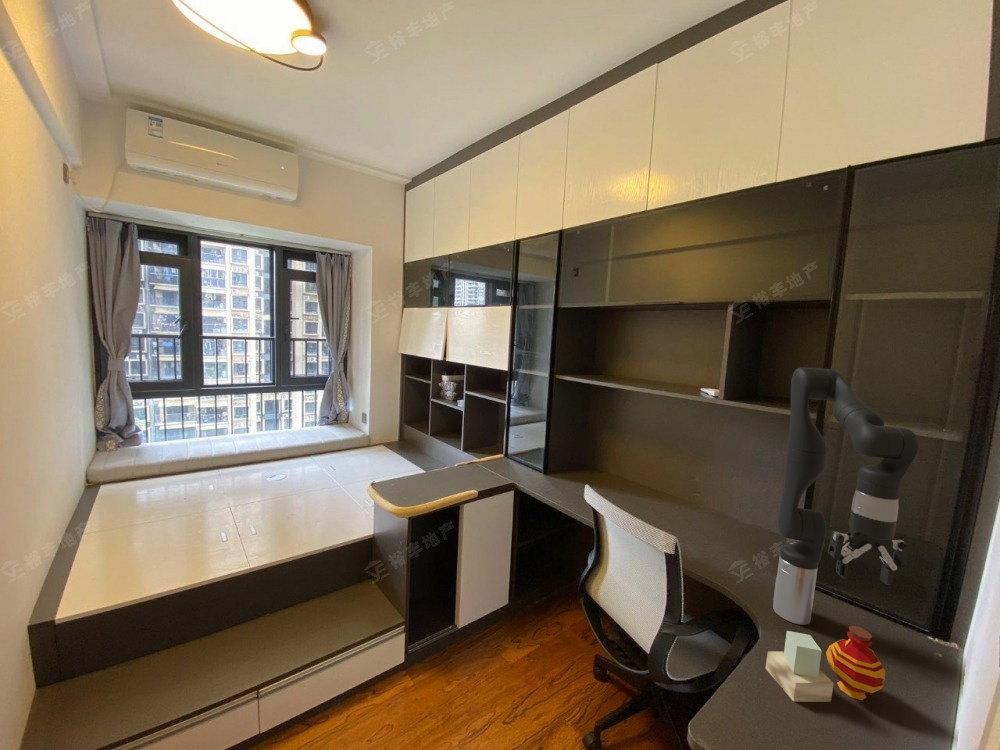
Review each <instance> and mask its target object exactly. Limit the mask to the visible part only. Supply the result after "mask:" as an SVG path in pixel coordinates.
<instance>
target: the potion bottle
mask: <svg viewBox="0 0 1000 750" xmlns="http://www.w3.org/2000/svg"><path fill="white" fill-rule="evenodd" d="M848 629H849V631H847V632H846V634H847V635H846V636H847V637H848V639H844V638H842V639H839V640H837V641H835V642H834V643H832V644H830V645H829V646H828V648H827V650H826V659H827V662H828V664H829V667H830V669H831V670H833V672H834V673H835V675H836V677H837V678H838V680H839V681H838V682H837V683H836V684H837V686H838V687H839V689H840V691H842V692H843V693H845V695H847V696H848V697H850V698H853V699H856V700H861V701H863V700H865V699H866V698H867V696H866V694H868V693H870V694H874V693H876V692H879V691H880V690H882V689H883V687H884V686H885V683H884V682H885V681H886V670H885V668H884V666H883V665H882V663H881V661H880V659H879V658H878V656H877V655H876V654H875V652H874V651H873V649H871V648H869V647H871V646H872V645H873V642H872V640H871V639H872V638H873V635H872V634H871V632H869V631H868V630H866V629H864V628H862V627H860V626H857V625H856V626H855V625H850V626H848Z"/></svg>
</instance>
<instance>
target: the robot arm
mask: <svg viewBox="0 0 1000 750" xmlns="http://www.w3.org/2000/svg"><path fill="white" fill-rule="evenodd" d="M810 400H818V401H831V402H833V406H832V414H833V417H834V419H835V420H836V421H837V422H838V424H840V425H841V426H842V427H843V428H844V429H845V430H846V431H847V432H848V434H849V437H850V440H851V443H852V445H853V448H854V449H855V450H856V452H859V453H860V454H862V455H864V456H867V457H872V458H882V460H881V461H880V462H878V463H875V464H868V465H862V466H861V467H859V470H858V473H857V481H856V488H855V491H854V494H853V497H852V501H851V502H852V504H851V509H850V517H849V521H848V526H849V531H848V532H847V533H841V532H838V531H837V530H832V531H831V534H830V539H829V540H830V541H829V544H828V549H827V553H828V554H829V556H831V557H832V558H833V559H834V560H836V565H835V571H836V573H837V575H839V577H841V578H842V579H845V580H846V579H848V573H849V566H850V564H849V563H850V561H852V560H854V559H857V558H859V557H860V556H862V557H871V558H876V559H880V560H881V562H882V563H883V564H881V570H880V575H879V579H880V580H879V581H881V582H882V583H883V584H884V585H887V586H890V585H891V584H892V583H893V582H894V580H895V579H894V578H895V573H896V571H897V570H898V569H902V570H907V568H908V562H909V554H910V553H909V551H910V545H909V544H908V543H906V542H905V541H903V540H902V539H900V537H899V538H895V533H896V527H897V521H898V520H897V519H898V514H899V498H900V492H901V486H902V481H903V479H904V478H905V476H906V474H907V473H908V472H909V471H908V470H909V469H910V467H912V465H913V463H914V461H915V460H916V458H917V456H918V453H919V451H920V442H919V441H920V440H919V438H918V436H917V435H916V433H914V431H912V430H911V429H908V428H905V427H900V426H899V427H897V426H887V425H885V422H884V419H883V418H882V417H881V415H879V414H878V413H877V412H876V411H875V410H873V409H872V408H871V407H870V406H868V405H867V404H866V403H865V402H864V401H862V399H860V398H859V397H858V395H857V394H856V393H855V392H854V390H853V389H852V387H851V386H850V385H849V383H848V381H846V379H845V378H844V377H843V375H841V374H840V373H839V372H838V371H836V370H834V369H832V368H831V369H830V368H824V367H823V368H822V367H821V368H820V367H804V366H803V367H798V368H796V369H795V370H794V372H793V374H792V377H791V383H790V419H789V431H788V437H787V445H786V454H785V469H784V470H785V471H784V479H783V488H782V493H781V498H780V503H779V507H778V513H777V529H778V532H779V534H780V536H782V537H783V538H785V539H789V540H794V541H795V540H796V542H792V543H786V544H783V545H782V546H781V547H780V551H779V557H778V558H779V559H778V565H777V566H778V567H777V573H776V574H777V575H776V576H775V577H776V578H775V585H774V590H773V591H774V594H773V599H772V603H773V606H772V607H773V608H772V609H773V611H774V612H775V614H777V615H778V616H779V617H780V618H782V619H784V620H785V621H788V622H790V623H793V624H796V625H802V626H803V625H809V624H810V623H811V618H812V612H813V605H814V599H815V590H816V584H817V583H816V582H817V576H818V568H819V563H820V561H821V560H822V559H821V558H822V555H823V549H824V546H825V539H826V534H827V523H826V519H825V516H824V515H823V514H822V513H821V512H820V511H817V510H814V509H808V508H803V507H802V508H800V507H799V504H800V501H801V497H802V496H803V494H804V493H805V492H806V490H807V489H808V488H810V486H811V485H812V484H814V482H815V481H816V480H817V479H818V478H819V477H820V476H821V474H823V472H824V470H825V467H826V459H827V451H828V449H827V443H826V441H825V439H824V438H823V435H822V433H821V432H820V430H819V429H818V428H817V425H815V423H814V420H813V419H812V416H811V412H810ZM894 538H895V539H894ZM847 541H848V542H847ZM891 548H893V551H892V552H893V553H892V557H891V555H890V553H889V552H888V551H890V550H891Z"/></svg>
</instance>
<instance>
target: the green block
mask: <svg viewBox="0 0 1000 750" xmlns="http://www.w3.org/2000/svg"><path fill="white" fill-rule="evenodd" d="M785 634H786V635H785V641H784V651H783V652H784V659H785V660H786V662H787V664H788V665H789V667H790V669H791V670H792V672H793V674H798V675H803V676H808V677H812V678H817V679H818V674H819V669H820V667H821V666H820V664H821V658H822V649H821V647H820V646H819V645H818V644H817V643H816V641H815V640H814V638H813V636H812V635H811V634H806V633H801V632H796V631H795V632H794V631H791V630H786V633H785Z"/></svg>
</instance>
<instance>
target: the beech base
mask: <svg viewBox="0 0 1000 750" xmlns="http://www.w3.org/2000/svg"><path fill="white" fill-rule="evenodd" d="M765 662H766V663H765V670H766V671H767V673H768V674H770V676H771V677H772V678H773V680H775V681H776V683H777V684H778V685H779V687H781V689H782V688H783V689H782V690H783V691H784V692H785V693H786V695H787V696H788V697H789V698H790V700H791V701H792V702H797V703H799V702H802V703H803V702H804V703H805V702H807V703H808V702H811V703H813V702H814V703H815V702H816V703H817V702H821V703H825V702H826V703H831V701H832V696H833V689H834V682H833V681H832V680H831V679H830V678H829V677H828V676H827V675H826V674H825V673H824V672H823V670H821V669H820V668H819V674H818V679H817V678H812V677H808V676H803V675H798V674H793V672H792V670H791V669H790V667H789V665H788V664H787V662H786V660H785V659H784V651H772V650H771V651H767V655H766V661H765Z"/></svg>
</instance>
